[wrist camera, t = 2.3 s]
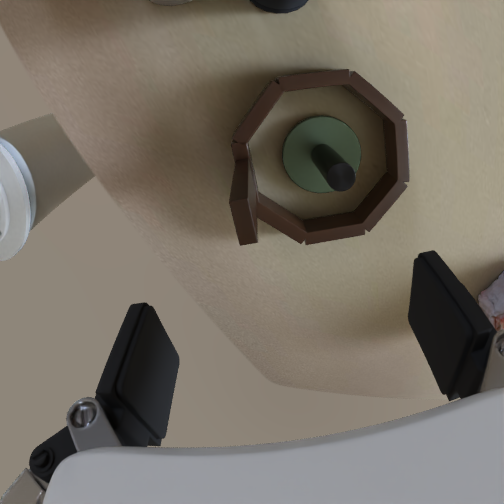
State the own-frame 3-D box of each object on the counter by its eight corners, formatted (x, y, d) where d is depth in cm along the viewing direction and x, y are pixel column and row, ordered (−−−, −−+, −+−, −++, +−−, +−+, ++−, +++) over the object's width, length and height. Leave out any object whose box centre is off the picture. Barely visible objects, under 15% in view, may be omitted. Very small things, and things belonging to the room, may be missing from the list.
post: (288, 196, 33) (298, 230, 27) (275, 121, 29) (283, 135, 23) (361, 184, 32) (388, 215, 26) (354, 111, 28) (384, 122, 22)
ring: (255, 239, 36) (257, 320, 25) (220, 87, 27) (200, 94, 16) (398, 215, 34) (453, 281, 23) (388, 67, 26) (463, 70, 15)
